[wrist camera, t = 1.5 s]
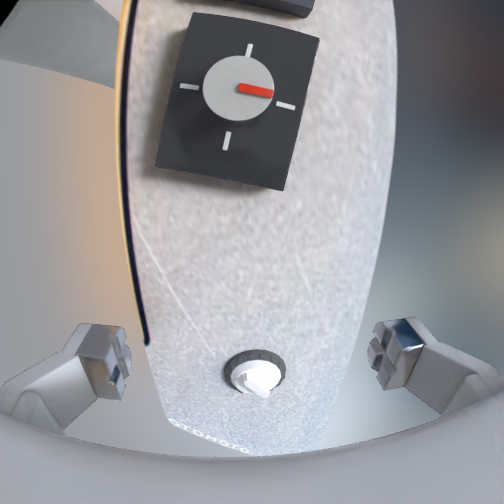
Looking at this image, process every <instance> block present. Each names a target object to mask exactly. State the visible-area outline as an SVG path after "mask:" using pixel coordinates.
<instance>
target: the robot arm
mask: <svg viewBox="0 0 504 504" xmlns="http://www.w3.org/2000/svg"><path fill="white" fill-rule="evenodd" d="M373 333H374V335H375V337H374V339H372V340H371V342H370V343H369V347H368V360H369V364H370V366H371V368H373V369H374V370H376V371H378V374H377V379H378V381H379V383H380V384H381V386H382V388H383V390H390V389H395V388H400V387H405V388H406V389H407V390H408V391H410V392H411V393H413V394H414V395H415V396H416V397H418V398H419V399H421V400H422V401H423V402H425V403H426V404H428V405H429V406H430V407H431V408H433V409H434V410H436V411H437V412H438V413H440V414H441V416H440V417H439V419H436V420H434V421H431V422H428V423H425V424H423V425H420V426H417V427H414V428H410V429H407V430H404V431H401V432H398V433H394V434H391V435H387V436H384V437H380V438H376V439H372V440H368V441H364V442H359V443H355V444H350V445H345V446H340V447H335V448H329V449H323V450H316V451H309V452H302V453H293V454H284V455H272V456H257V457H192V456H177V455H165V454H156V453H147V452H140V451H133V450H127V449H121V448H115V447H110V446H105V445H100V444H96V443H91V442H87V441H83V440H79V439H75V438H71V437H67V436H66V434H65V433H64V432H63V430H64V429H65V428H66V427H67V426H68V425H69V424H70V423H72V422H73V421H74V420H75V419H76V418H77V417H78V416H79V415H80V414H82V413H83V412H84V411H85V410H86V409H87V408H88V407H89V406H90V405H91V404H92V403H94V402H95V401H96V400H97V398H104V399H111V400H120V401H121V399H122V396H123V393H124V390H125V387H126V384H125V381H124V379H125V378H127V377H128V376H129V374H130V371H131V365H132V357H131V352H130V348H129V347H128V346H127V345H126V344H125V340H126V334H125V330H124V328H122V327H119V326H109V325H99V324H89V323H81V324H79V325H78V326H77V328H76V329H75V331H74V332H73V334H72V335H71V337H70V339H69V340H68V342H67V343H66V345H65V347H64V348H63V350H62V351H61V353H55V354H53V355H52V356H50V357H48V358H46V359H44V360H43V361H41V362H39V363H37V364H36V365H34V366H32V367H30V368H29V369H27V370H25V371H23V372H22V373H20V374H18V375H16V376H14V377H13V378H11V379H9V380H8V381H6V382H5V383H4V384H3V386H2V388H1V389H0V504H504V380H503V378H502V377H501V376H500V375H499V374H498V372H497V371H496V370H495V369H494V368H493V366H492V365H490V364H487V363H485V362H483V361H481V360H479V359H477V358H475V357H472V356H470V355H468V354H466V353H464V352H462V351H459V350H457V349H455V348H453V347H451V346H449V345H447V344H444V343H442V342H440V343H438V342H437V340H436V339H435V338H434V337H433V335H432V334H431V333H430V332H429V331H428V330H427V329H426V327H425V326H424V325H423V324H422V323H421V322H420V320H419V319H418V318H416V317H408V318H402V319H398V320H389V321H381V322H377V324H376V325H375V327H374V330H373Z"/></svg>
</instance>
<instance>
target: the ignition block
mask: <svg viewBox="0 0 504 504" xmlns="http://www.w3.org/2000/svg"><path fill="white" fill-rule="evenodd" d="M226 1H232V2H239V3H245V4H250V5H255V6H260V7H265V8H270V9H274V10H278V11H282V12H286V13H290V14H294V15H297V16H301V17H304V18H307V16H308V15H309V14H310V12H311V11H312V9H313V5H314V1H315V0H226Z"/></svg>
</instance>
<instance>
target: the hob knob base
mask: <svg viewBox="0 0 504 504" xmlns="http://www.w3.org/2000/svg"><path fill="white" fill-rule="evenodd" d="M319 42H320V38H317V37H314V36H311V35H308V34H304V33H301V32H297V31H294V30H290V29H286V28H282V27H278V26H274V25H270V24H266V23H261V22H256V21H251V20H246V19H240V18H234V17H228V16H221V15H214V14H205V13H196V12H193V14H192V17H191V20H190V23H189V26H188V29H187V32H186V36H185V39H184V42H183V46H182V49H181V52H180V56H179V60H178V63H177V67H176V71H175V74H174V78H173V82H172V86H171V91H170V95H169V99H168V103H167V108H166V112H165V117H164V122H163V127H162V132H161V137H160V142H159V148H158V153H157V159H156V165H155V167H158V168H164V169H170V170H176V171H182V172H188V173H194V174H200V175H205V176H211V177H216V178H221V179H226V180H231V181H236V182H241V183H246V184H251V185H256V186H260V187H265V188H269V189H274V190H278V191H283V190H284V186H285V182H286V178H287V174H288V170H289V166H290V163H291V159H292V154H293V150H294V146H295V142H296V138H297V134H298V130H299V126H300V122H301V118H302V114H303V110H304V106H305V101H306V97H307V93H308V89H309V85H310V81H311V76H312V72H313V68H314V64H315V59H316V55H317V51H318V46H319ZM231 56H247V57H250V58H253V59H255V60H257V61H259V62H260V63H262V64H263V65H264V66H265V67H266V68H267V69H268V70H269V72H270V74H271V76H272V78H273V82H274V94H273V97H272V100H271V102H270V104H269V105H268V107H267V108H266V109H265V110H264V111H263V112H262V113H261V114H260V115H258V116H257V117H256V118H254V119H252V120H250V121H248V122H244V123H230V122H227V121H224V120H222V119H220V118H219V117H218V116H216V115H215V114H214V113H213V111H212V110H211V109H210V108H209V106H208V105H207V103H206V101H205V99H204V96H203V81H204V78H205V76H206V74H207V72H208V71H209V69H210V68H211V67H212V66H213V65H214V64H215V63H217V62H218V61H220V60H222V59H224V58H227V57H231Z"/></svg>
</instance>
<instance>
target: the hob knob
mask: <svg viewBox="0 0 504 504" xmlns="http://www.w3.org/2000/svg"><path fill="white" fill-rule="evenodd" d="M273 94H274V82H273V78H272V76H271V74H270V72H269V70H268V69H267V68H266V67H265V66H264V65H263V64H262V63H260V62H259V61H257V60H255V59H253V58H250V57H247V56H231V57H227V58H224V59H222V60H220V61H218V62H217V63H215V64H214V65H213V66H212V67H211V68H210V69H209V71H208V72H207V74H206V76H205V78H204V81H203V96H204V99H205V101H206V103H207V105H208V106H209V108H210V109H211V110H212V111H213V113H214V114H215V115H216V116H218V117H219V118H220V119H222V120H224V121H227V122H230V123H244V122H248V121H250V120H252V119H254V118H256V117H257V116H258V115H260V114H261V113H262V112H263V111H264V110H265V109H266V108H267V107H268V105H269V104H270V102H271V100H272V97H273Z"/></svg>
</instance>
